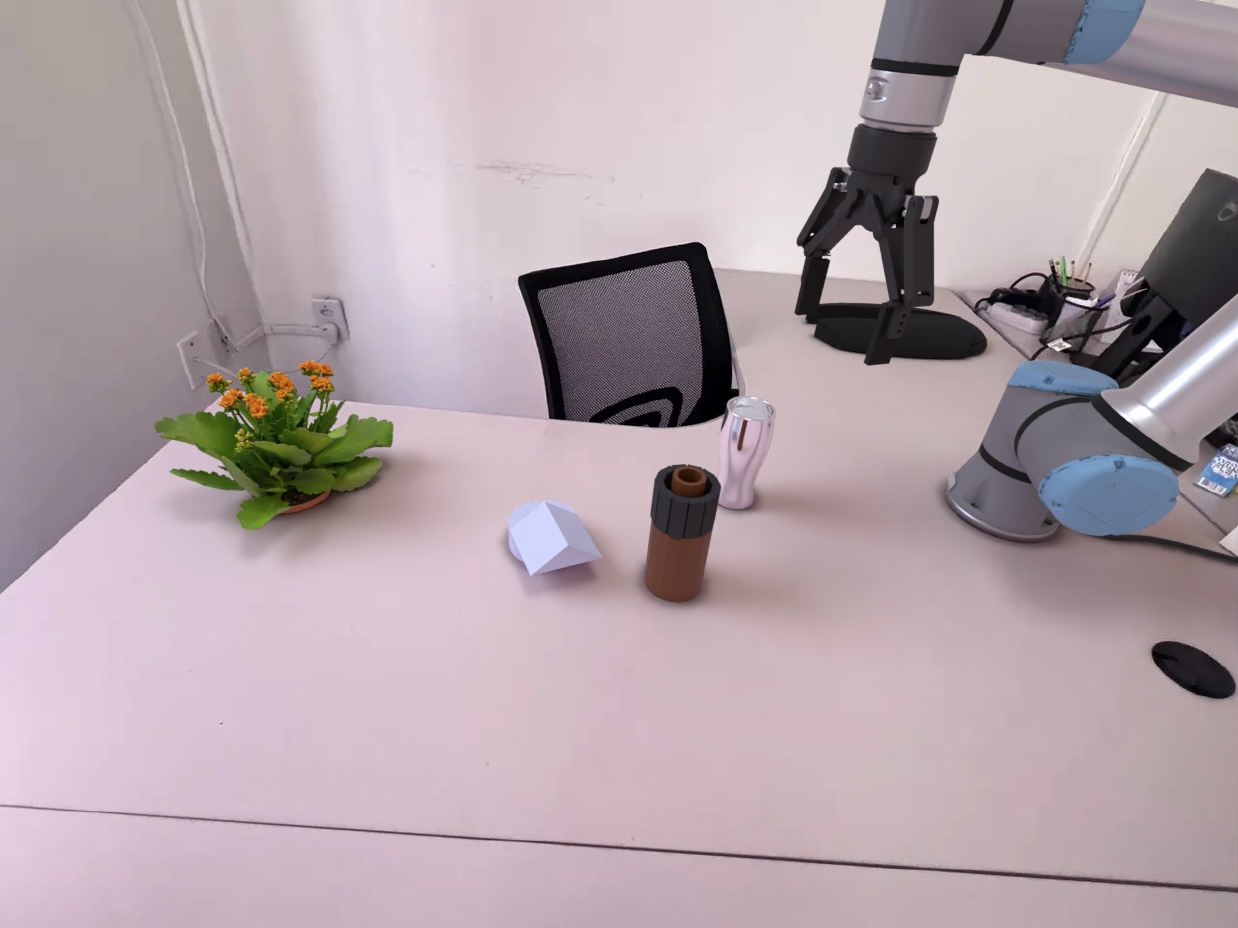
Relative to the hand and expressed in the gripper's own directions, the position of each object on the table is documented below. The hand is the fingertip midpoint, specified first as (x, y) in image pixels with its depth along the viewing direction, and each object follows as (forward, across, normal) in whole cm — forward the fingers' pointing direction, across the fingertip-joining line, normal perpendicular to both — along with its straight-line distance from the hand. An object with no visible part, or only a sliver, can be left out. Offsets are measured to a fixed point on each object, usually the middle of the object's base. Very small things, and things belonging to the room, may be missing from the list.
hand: (838, 337), depth 73 cm
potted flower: (+29, -24, -63) cm, 74 cm away
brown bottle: (+29, +5, -19) cm, 35 cm away
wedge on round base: (+29, -4, -32) cm, 43 cm away
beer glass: (+29, -9, -3) cm, 30 cm away
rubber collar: (+19, +5, -19) cm, 27 cm away
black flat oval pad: (+29, -55, +63) cm, 89 cm away
